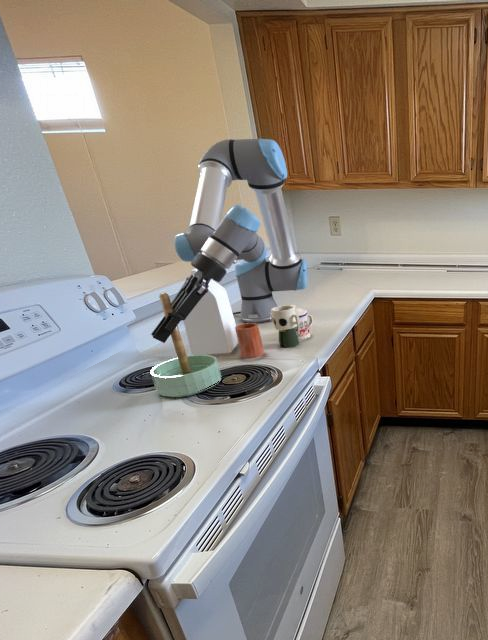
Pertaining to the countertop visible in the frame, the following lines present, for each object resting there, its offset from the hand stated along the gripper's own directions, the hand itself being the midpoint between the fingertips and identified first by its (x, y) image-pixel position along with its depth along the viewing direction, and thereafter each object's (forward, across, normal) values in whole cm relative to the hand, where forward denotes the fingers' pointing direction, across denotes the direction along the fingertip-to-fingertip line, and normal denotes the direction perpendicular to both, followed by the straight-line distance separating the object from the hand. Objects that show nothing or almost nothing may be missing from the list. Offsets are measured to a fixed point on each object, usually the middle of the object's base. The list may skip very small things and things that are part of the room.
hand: (157, 338), depth 102 cm
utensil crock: (-7, +11, -27) cm, 29 cm away
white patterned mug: (-20, +19, -40) cm, 48 cm away
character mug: (-15, +12, -35) cm, 40 cm away
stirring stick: (+7, 0, -12) cm, 14 cm away
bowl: (+7, 0, -13) cm, 15 cm away
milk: (-2, +26, -22) cm, 34 cm away
